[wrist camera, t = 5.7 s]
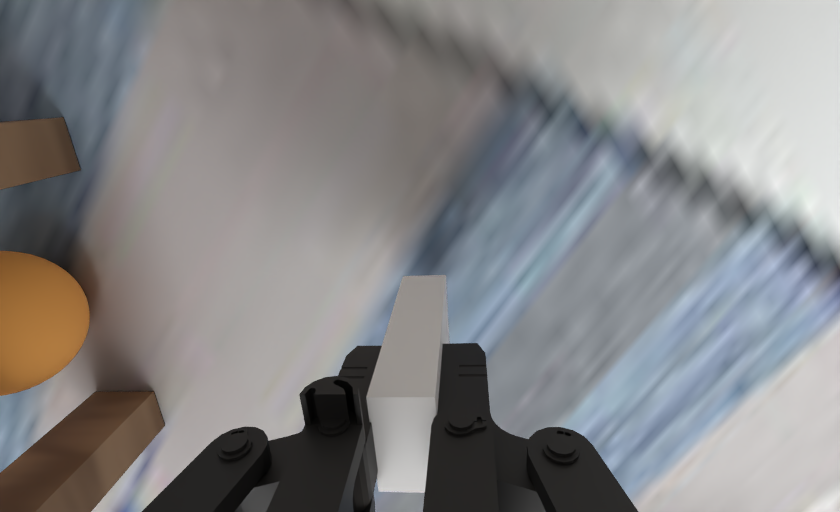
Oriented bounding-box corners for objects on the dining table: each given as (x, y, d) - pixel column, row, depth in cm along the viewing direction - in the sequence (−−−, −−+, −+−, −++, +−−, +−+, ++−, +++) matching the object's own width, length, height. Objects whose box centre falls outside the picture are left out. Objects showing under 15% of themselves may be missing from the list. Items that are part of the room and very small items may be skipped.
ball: (67, 335, 22) (-90, 405, 18) (24, 227, 20) (-164, 273, 16) (134, 360, 20) (-29, 449, 15) (93, 239, 18) (-108, 299, 13)
